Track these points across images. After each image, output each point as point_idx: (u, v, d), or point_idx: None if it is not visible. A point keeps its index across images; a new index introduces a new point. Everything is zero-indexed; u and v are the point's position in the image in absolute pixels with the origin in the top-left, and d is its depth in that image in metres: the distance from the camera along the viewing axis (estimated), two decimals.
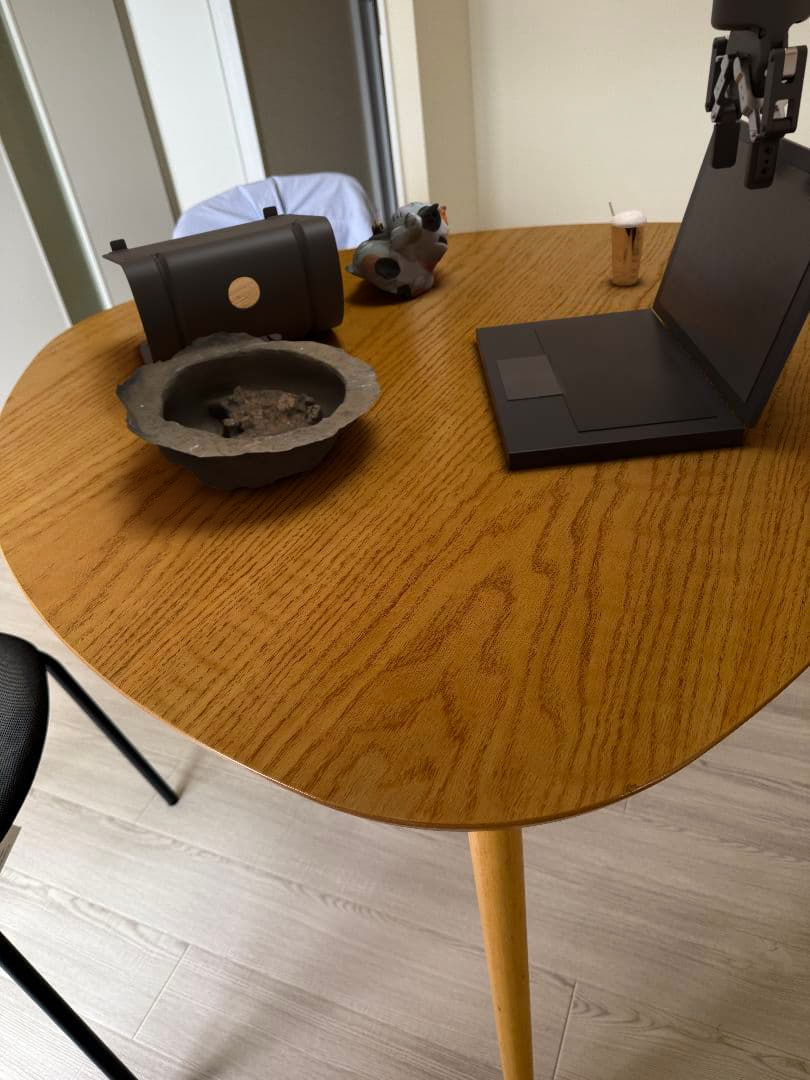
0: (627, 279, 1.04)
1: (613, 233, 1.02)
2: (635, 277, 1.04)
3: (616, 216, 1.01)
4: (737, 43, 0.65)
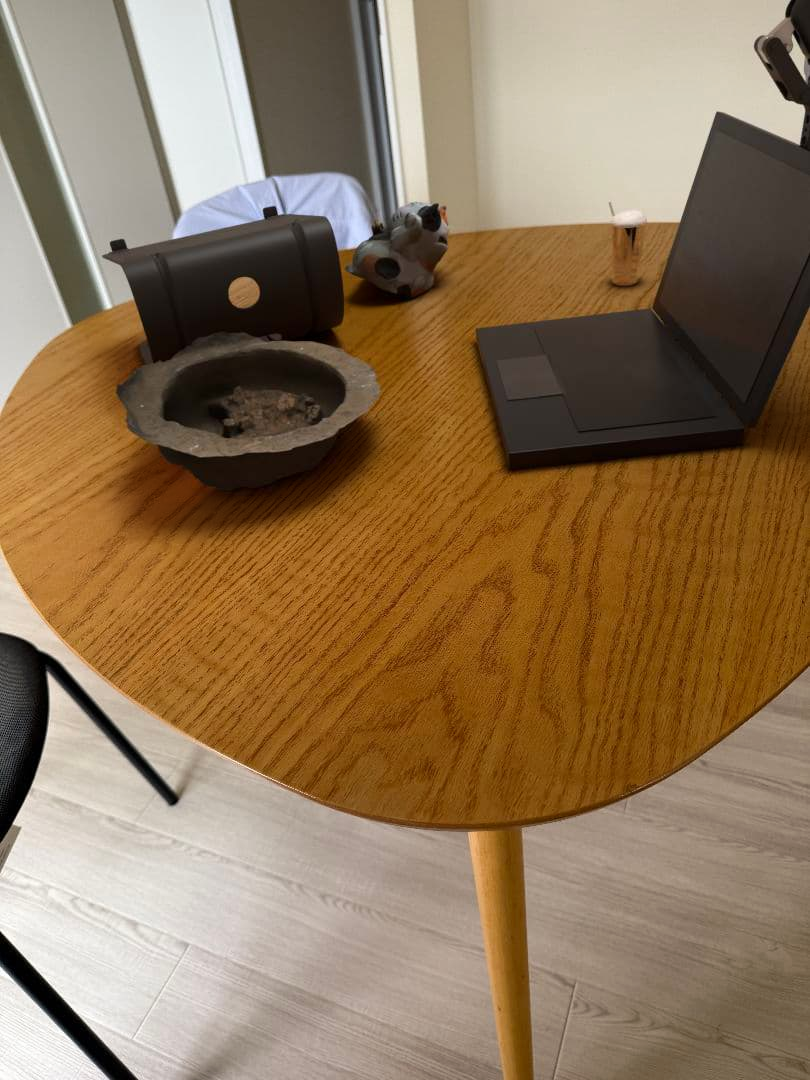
0: (627, 279, 1.04)
1: (613, 233, 1.02)
2: (635, 277, 1.04)
3: (616, 216, 1.01)
4: None
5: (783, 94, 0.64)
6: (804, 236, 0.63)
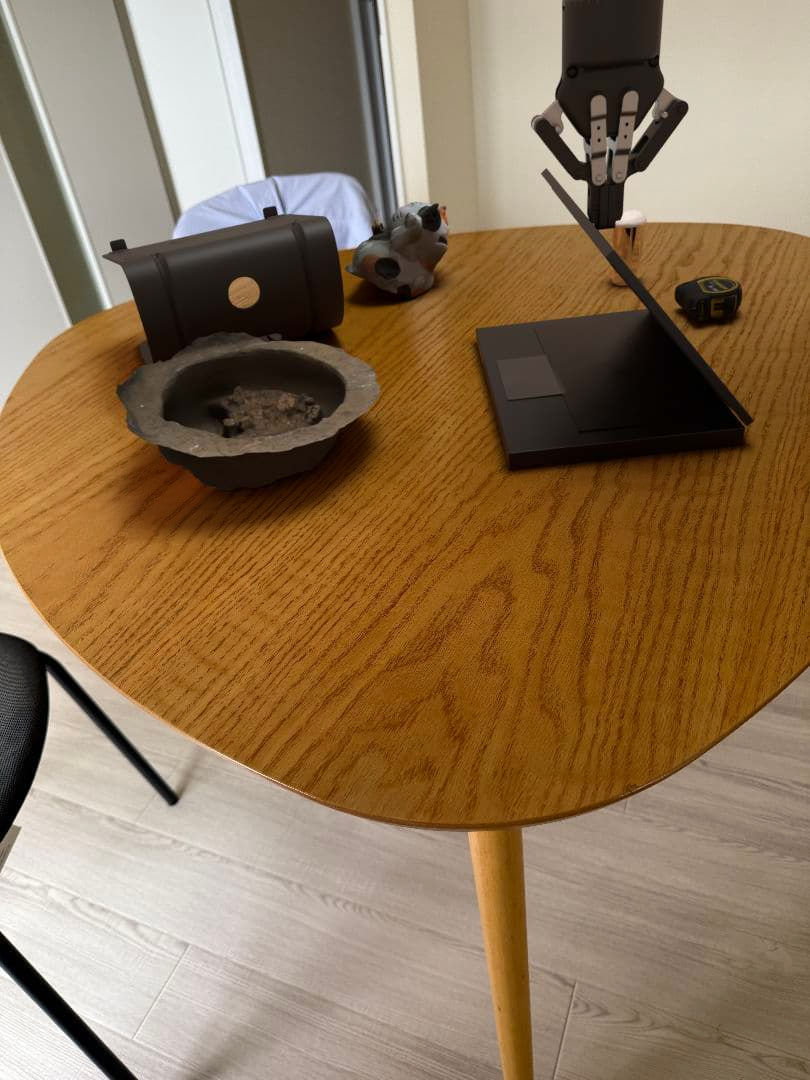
0: None
1: (613, 233, 1.02)
2: None
3: None
4: (596, 83, 0.62)
5: (565, 169, 0.67)
6: None
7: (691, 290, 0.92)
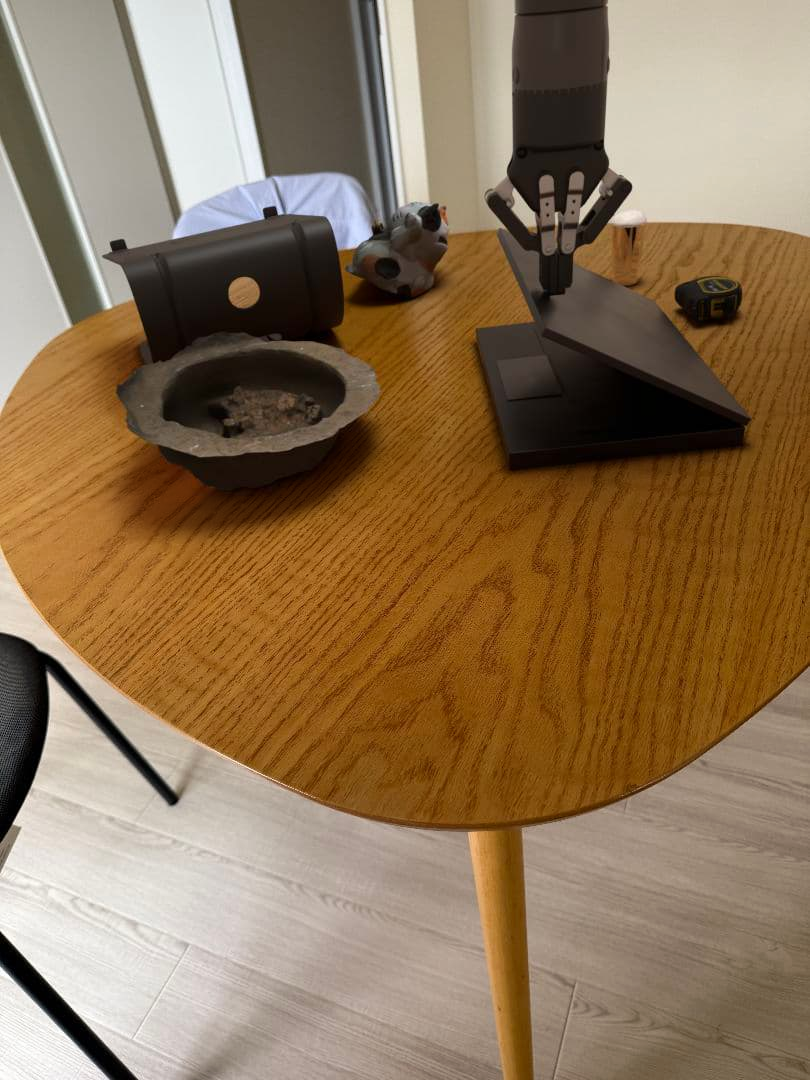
0: (627, 279, 1.04)
1: (613, 233, 1.02)
2: (635, 277, 1.04)
3: (616, 216, 1.01)
4: (544, 163, 0.65)
5: None
6: None
7: (691, 290, 0.92)
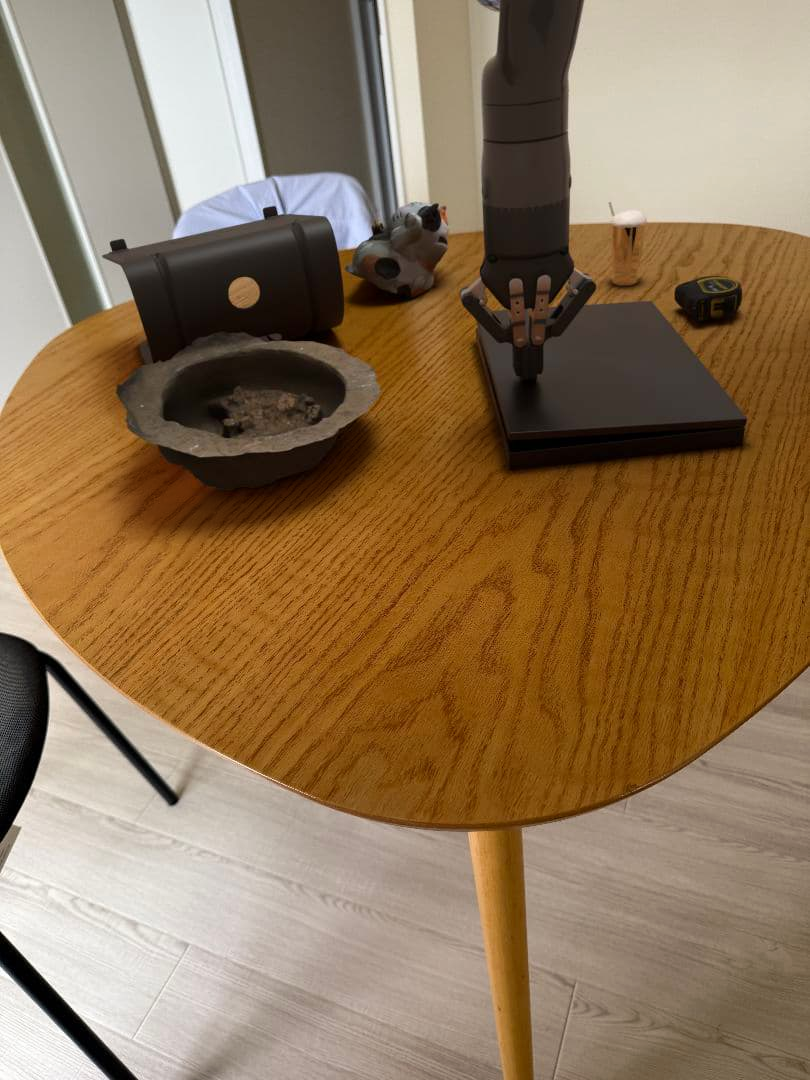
0: (627, 279, 1.04)
1: (613, 233, 1.02)
2: (635, 277, 1.04)
3: (616, 216, 1.01)
4: (514, 267, 0.70)
5: None
6: None
7: (691, 290, 0.92)
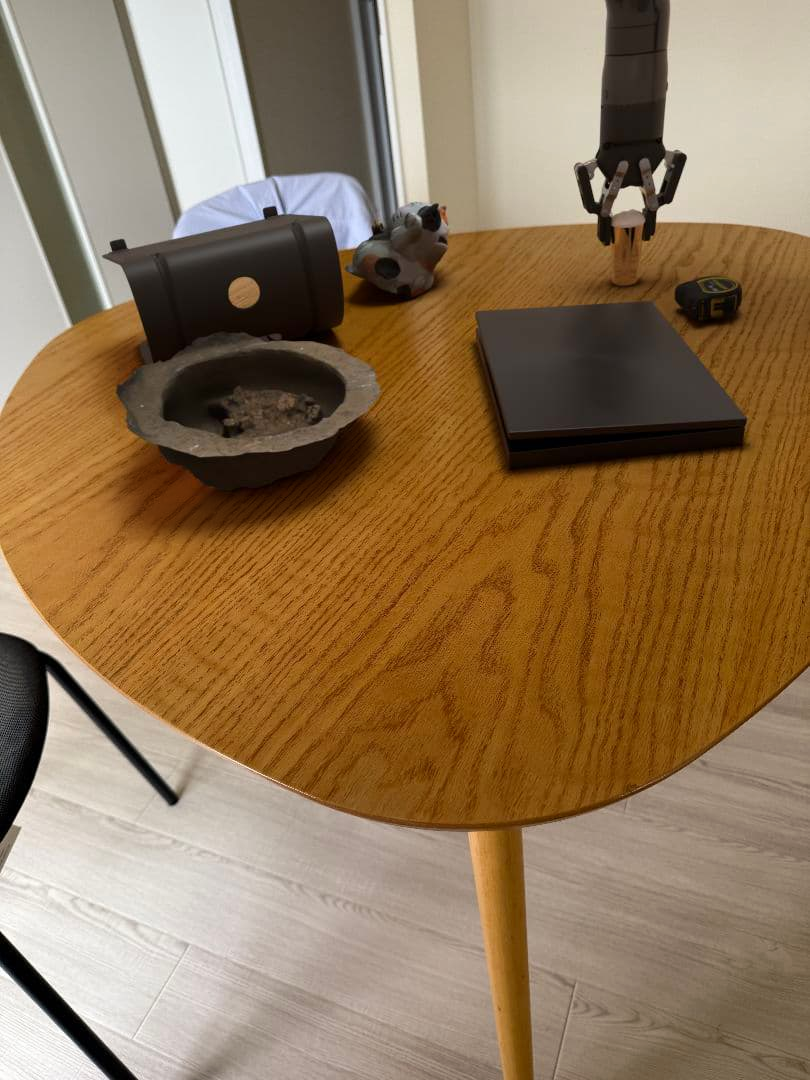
0: (627, 279, 1.04)
1: (612, 233, 1.02)
2: (635, 277, 1.04)
3: (614, 216, 1.01)
4: (622, 153, 0.96)
5: (583, 203, 1.01)
6: None
7: (691, 290, 0.92)
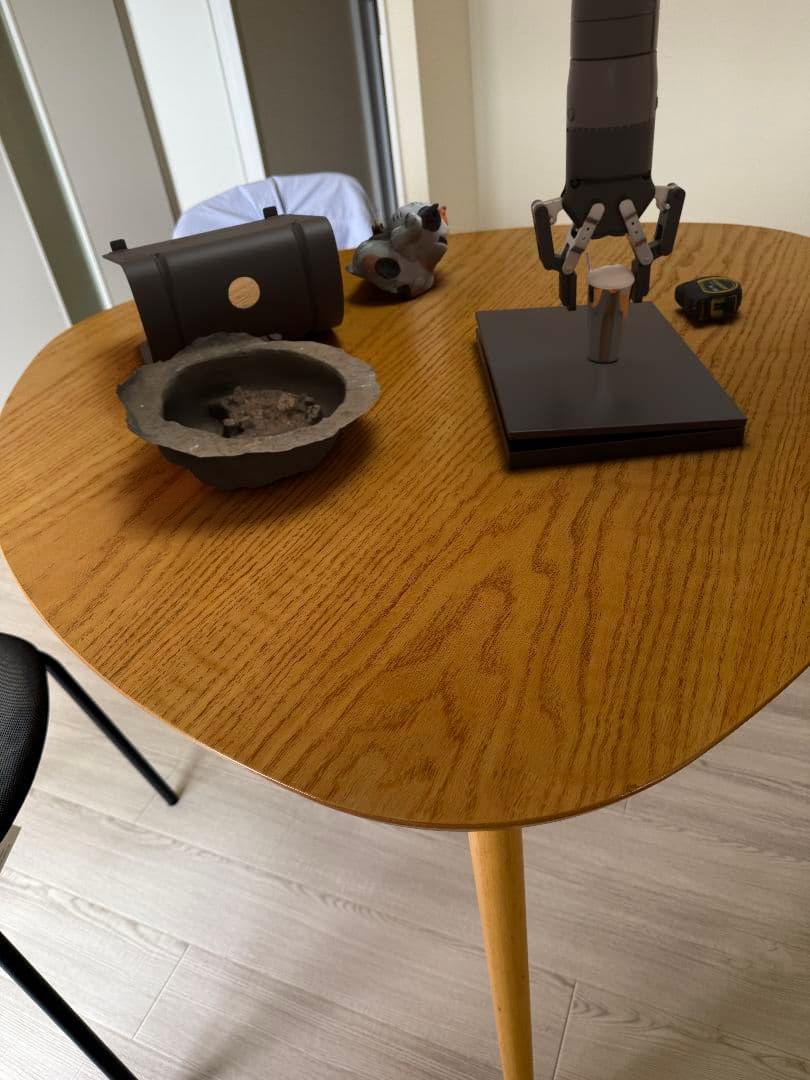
0: (606, 354, 0.79)
1: (589, 294, 0.76)
2: (616, 352, 0.79)
3: (594, 272, 0.75)
4: (596, 192, 0.70)
5: (539, 254, 0.75)
6: None
7: (691, 290, 0.92)
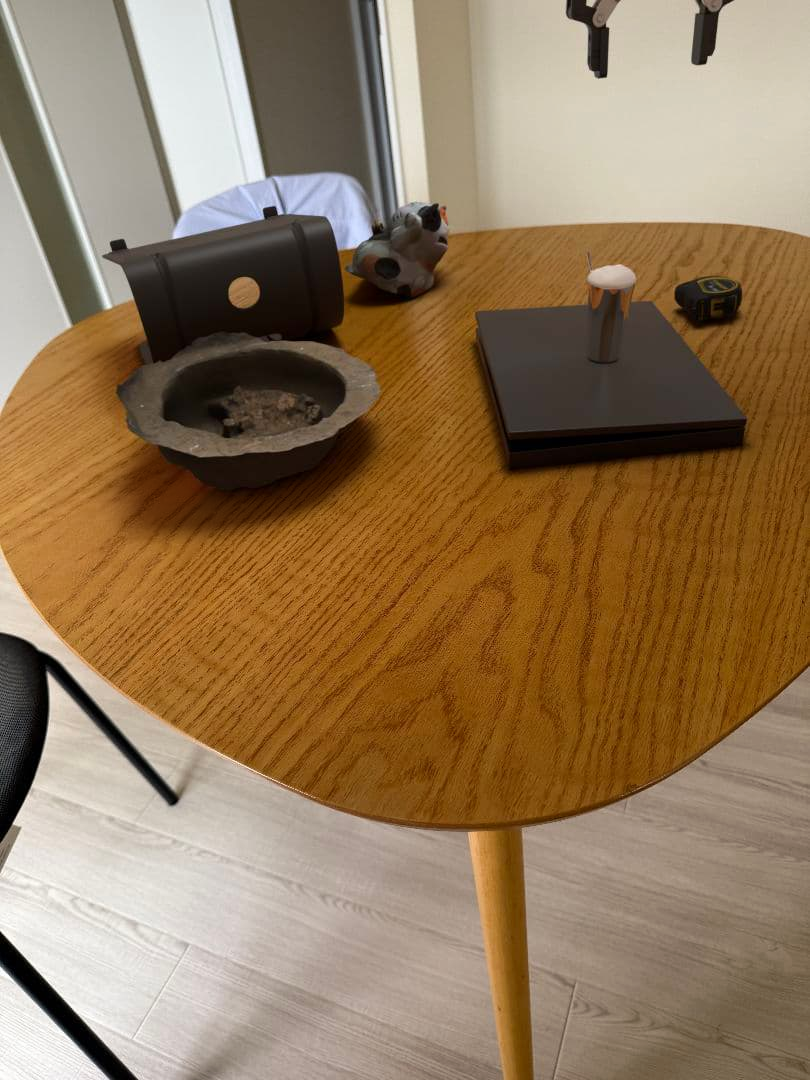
0: (606, 354, 0.79)
1: (590, 294, 0.76)
2: (617, 352, 0.79)
3: (595, 272, 0.75)
4: None
5: (567, 5, 0.66)
6: None
7: (691, 290, 0.92)
